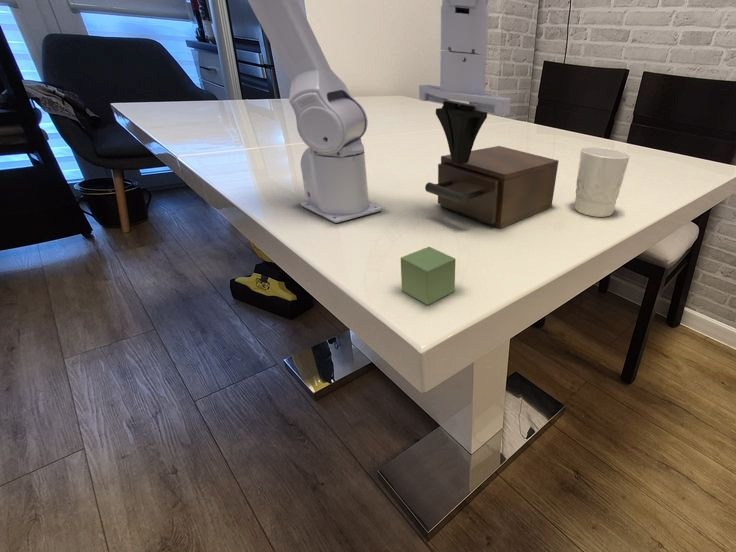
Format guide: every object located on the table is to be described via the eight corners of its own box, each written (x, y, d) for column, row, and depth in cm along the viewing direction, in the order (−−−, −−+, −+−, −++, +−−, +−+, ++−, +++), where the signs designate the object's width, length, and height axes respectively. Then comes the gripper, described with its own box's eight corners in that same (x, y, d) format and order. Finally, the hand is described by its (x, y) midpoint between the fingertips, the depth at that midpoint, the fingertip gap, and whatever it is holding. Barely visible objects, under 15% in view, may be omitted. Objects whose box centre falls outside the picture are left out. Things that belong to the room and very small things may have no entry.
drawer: (470, 232, 56) (473, 187, 53) (415, 209, 62) (414, 168, 58) (542, 204, 69) (547, 167, 66) (490, 187, 74) (493, 153, 71)
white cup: (624, 213, 71) (638, 155, 66) (599, 222, 66) (612, 160, 61) (588, 200, 76) (598, 145, 71) (561, 207, 71) (571, 149, 66)
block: (401, 290, 43) (400, 257, 41) (429, 278, 46) (429, 246, 44) (427, 305, 41) (427, 271, 39) (454, 291, 44) (455, 258, 42)
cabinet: (500, 228, 60) (504, 174, 56) (440, 206, 67) (440, 156, 62) (551, 207, 70) (558, 160, 66) (495, 189, 77) (499, 145, 73)
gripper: (528, 58, 50) (517, 169, 56) (445, 50, 57) (444, 149, 64) (492, 56, 45) (485, 177, 51) (406, 47, 52) (409, 154, 59)
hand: (460, 162), depth 57 cm, fingers closed
